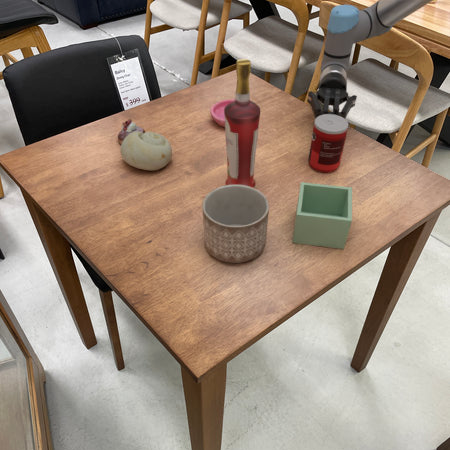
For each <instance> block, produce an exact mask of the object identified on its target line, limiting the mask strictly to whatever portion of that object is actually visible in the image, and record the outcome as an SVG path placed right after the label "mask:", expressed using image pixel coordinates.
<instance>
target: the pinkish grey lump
mask: <svg viewBox="0 0 450 450" xmlns="http://www.w3.org/2000/svg"><path fill="white" fill-rule="evenodd" d="M136 131H139V132H142V133H146V132H147V131H146V130H145V129H144V128H143V127H141V126H138V125H137V123H135V122H134V121H132V119H131V118H128V119H127V120H125V121H124V122H122V125H121V130H120V131H119V132H118V134H117V142H118V144H119V145H121V144H122V142H123V140H124V139H125V137H126V136H128V135H129V134H130V133H132V132H136Z"/></svg>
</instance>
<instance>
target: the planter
mask: <svg viewBox="0 0 450 450" xmlns="http://www.w3.org/2000/svg"><path fill="white" fill-rule="evenodd" d="M201 205H202V206H201V207H202V208H201V209H202V224H203V225H202V226H203V242H204V246H205V249H206V250H207V252H208V253H209V254H210V255H211V256H212V257H214V258H215V259H217V260H220V261H222V262H226V263H232V264H239V263H245V262H246V263H247V262H248V261H252V260H254V259H256V258H257V257H258V256H260V255H261V254H262V252H263V251H264V249H265V247H266V244H267V234H268V223H269V216H270V215H269V214H270V213H269V212H270V202H269V199H268V198H267V196H266V194H264V193H263V192H262V191H261V190H259V189H257V188H255V187H250V186H246V185H237V184H234V185H226V184H225V185H221V186H218V187H215V188H214V189H212V190H211V191H210V192H208V193H207V194H206V195H205V196H204V198H203V201H202V204H201Z"/></svg>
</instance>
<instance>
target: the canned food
mask: <svg viewBox="0 0 450 450" xmlns="http://www.w3.org/2000/svg"><path fill="white" fill-rule="evenodd" d="M348 130H349V122H348V120H347V119H346V118H345V119H344V118H343V117H341V116H338V115H333V114H324V115H320V116H318V117H317V118H314V122H313V127H312V133H311V140H310V145H309V146H310V147H309V152H308V166H309V167H310V168H311V169H313V171H315V172H319V173H322V174H327V173H332V172H335V171H336V170H337V169H338V168H339V167H340V165H341V160H342V156H343V152H344V147H345V143H346V139H347V135H348Z"/></svg>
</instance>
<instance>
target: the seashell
mask: <svg viewBox="0 0 450 450" xmlns="http://www.w3.org/2000/svg"><path fill="white" fill-rule="evenodd" d="M145 132H146V133H142V132H139V131H136V132H132V133H130V134H129V135H128V136H126V137H125V139H124V140H123V142H122V144H120V149H119V150H120V151H119V152H120V156H121V158H122V160H123V161H124V162H125V163H126V164H127V165H129V166H132V167H134V168H136V169H139V170H144V171H158V170H160V169H163V168H164V167H166V166H167V165H168V164H169V163H170V161H171V159H172V155H173V149H172V145H171V143H170V141H169V140H168V139H167V138H166V137H165V136H164V135H162V134H160V133H158V132H153V131H145Z"/></svg>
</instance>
